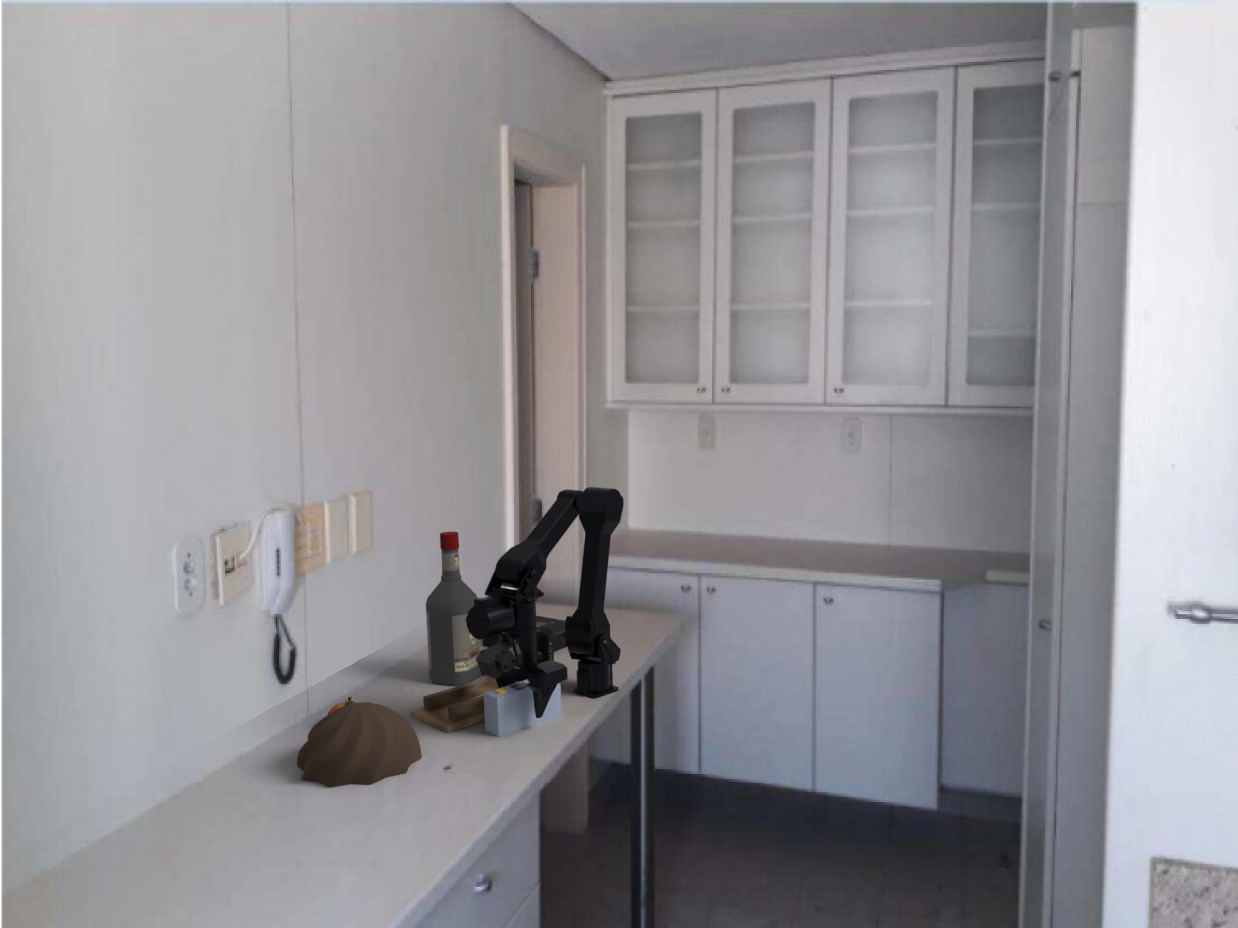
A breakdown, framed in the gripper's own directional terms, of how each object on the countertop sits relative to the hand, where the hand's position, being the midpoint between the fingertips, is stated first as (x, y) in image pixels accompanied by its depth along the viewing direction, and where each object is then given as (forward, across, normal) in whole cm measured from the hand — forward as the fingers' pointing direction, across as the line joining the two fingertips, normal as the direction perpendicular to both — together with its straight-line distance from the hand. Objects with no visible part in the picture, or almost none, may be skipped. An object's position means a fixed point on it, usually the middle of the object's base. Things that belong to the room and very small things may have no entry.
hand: (523, 711), depth 178 cm
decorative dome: (+2, -6, -29) cm, 30 cm away
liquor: (+2, -30, +6) cm, 31 cm away
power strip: (+2, 0, 0) cm, 2 cm away
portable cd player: (+3, -38, +33) cm, 50 cm away
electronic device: (+2, -19, +16) cm, 25 cm away
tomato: (+2, -22, -22) cm, 31 cm away
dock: (+2, -12, -2) cm, 12 cm away
